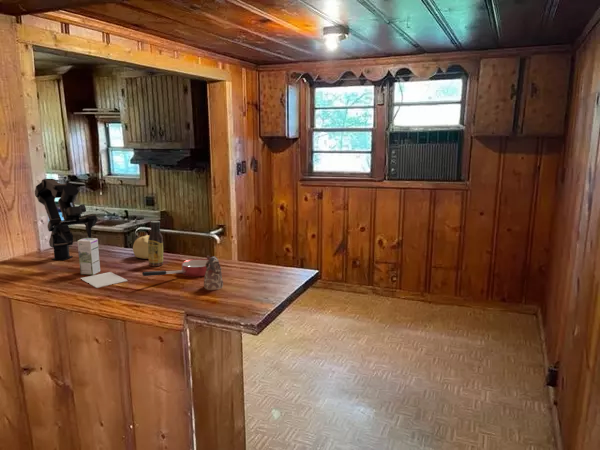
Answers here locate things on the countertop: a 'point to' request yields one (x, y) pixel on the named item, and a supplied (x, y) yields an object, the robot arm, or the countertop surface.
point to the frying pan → (185, 269)
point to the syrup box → (88, 256)
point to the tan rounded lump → (141, 247)
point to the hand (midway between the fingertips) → (78, 239)
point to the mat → (103, 279)
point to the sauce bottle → (155, 245)
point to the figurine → (213, 274)
